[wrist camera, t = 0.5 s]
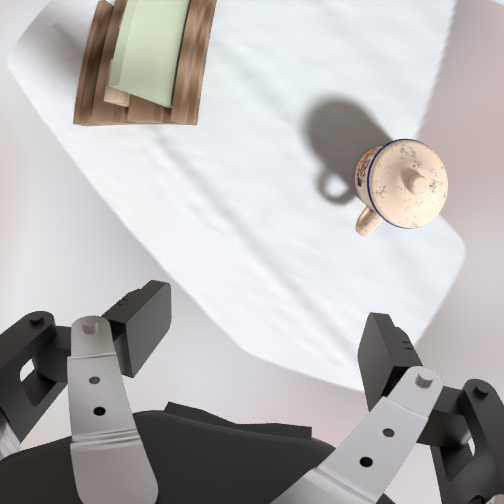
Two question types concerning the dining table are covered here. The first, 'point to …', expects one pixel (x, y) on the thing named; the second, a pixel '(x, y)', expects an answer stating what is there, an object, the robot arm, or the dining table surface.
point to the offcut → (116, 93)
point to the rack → (140, 110)
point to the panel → (150, 49)
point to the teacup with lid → (400, 185)
